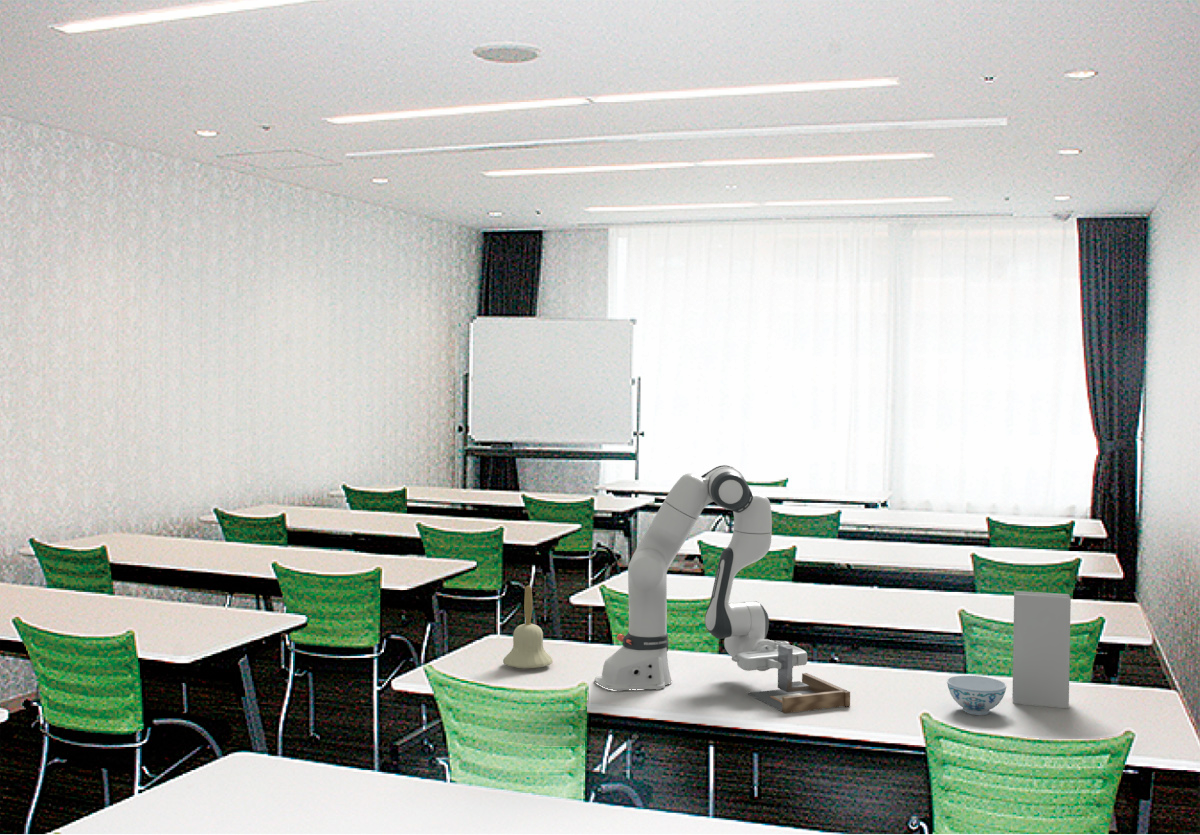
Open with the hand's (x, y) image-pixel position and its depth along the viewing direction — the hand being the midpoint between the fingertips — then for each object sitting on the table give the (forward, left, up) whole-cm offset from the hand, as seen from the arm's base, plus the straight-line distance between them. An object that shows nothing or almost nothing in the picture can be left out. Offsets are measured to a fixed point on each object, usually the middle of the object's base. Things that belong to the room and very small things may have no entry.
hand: (786, 665), depth 305 cm
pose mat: (+3, +1, -10) cm, 10 cm away
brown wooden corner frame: (+4, 0, -10) cm, 10 cm away
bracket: (+3, +1, -7) cm, 7 cm away
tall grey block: (+65, -26, -10) cm, 70 cm away
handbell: (-54, +61, -10) cm, 82 cm away
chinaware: (+43, -26, -10) cm, 51 cm away
